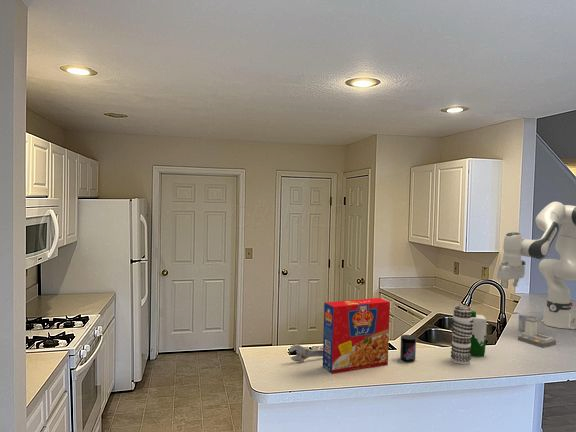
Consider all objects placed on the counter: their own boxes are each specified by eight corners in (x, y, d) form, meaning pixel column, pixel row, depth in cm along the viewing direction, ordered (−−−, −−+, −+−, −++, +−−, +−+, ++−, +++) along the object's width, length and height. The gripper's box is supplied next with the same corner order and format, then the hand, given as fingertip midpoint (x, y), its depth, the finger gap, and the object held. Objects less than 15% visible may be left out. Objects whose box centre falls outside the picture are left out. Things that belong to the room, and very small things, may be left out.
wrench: (346, 362, 199) (289, 364, 186) (344, 360, 201) (287, 362, 187) (348, 344, 199) (291, 345, 186) (346, 343, 201) (289, 344, 188)
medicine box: (532, 330, 247) (533, 315, 246) (536, 332, 242) (536, 317, 242) (517, 329, 247) (518, 314, 247) (521, 331, 243) (522, 316, 243)
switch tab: (529, 334, 231) (529, 317, 230) (537, 336, 227) (538, 319, 227) (524, 335, 228) (525, 318, 228) (532, 337, 225) (533, 320, 224)
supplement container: (400, 361, 193) (401, 338, 193) (399, 356, 200) (400, 334, 199) (415, 363, 192) (416, 340, 191) (414, 357, 198) (415, 335, 198)
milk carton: (462, 349, 211) (464, 309, 210) (482, 351, 209) (484, 310, 208) (466, 355, 202) (468, 313, 201) (487, 357, 200) (488, 315, 200)
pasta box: (331, 374, 178) (333, 306, 176) (322, 367, 185) (324, 302, 184) (387, 365, 189) (389, 301, 188) (377, 358, 196) (379, 297, 195)
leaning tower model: (461, 356, 202) (463, 303, 201) (476, 363, 193) (478, 308, 192) (445, 358, 199) (447, 304, 198) (460, 365, 190) (462, 309, 189)
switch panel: (530, 336, 234) (531, 330, 234) (555, 344, 223) (556, 337, 222) (517, 340, 228) (518, 333, 227) (542, 347, 216) (543, 340, 216)
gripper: (505, 263, 229) (504, 289, 230) (527, 262, 240) (526, 286, 240) (494, 262, 234) (493, 287, 235) (516, 260, 245) (515, 284, 246)
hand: (510, 287), depth 238 cm, fingers open, 8 cm apart
